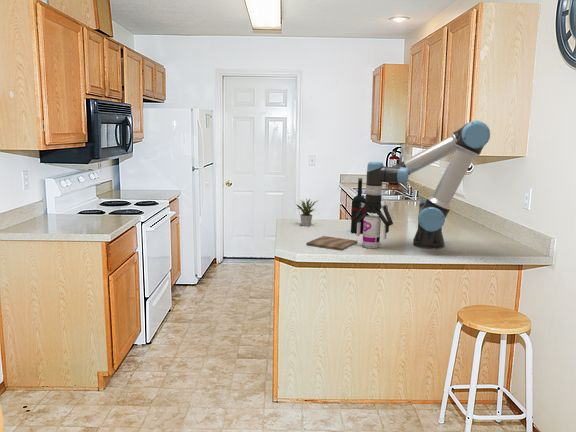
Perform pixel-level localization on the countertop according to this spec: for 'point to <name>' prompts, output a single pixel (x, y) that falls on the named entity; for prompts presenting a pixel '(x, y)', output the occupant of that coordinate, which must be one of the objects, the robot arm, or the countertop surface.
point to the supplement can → (371, 231)
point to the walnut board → (332, 243)
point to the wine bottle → (355, 205)
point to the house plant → (306, 213)
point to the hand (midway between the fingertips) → (371, 237)
